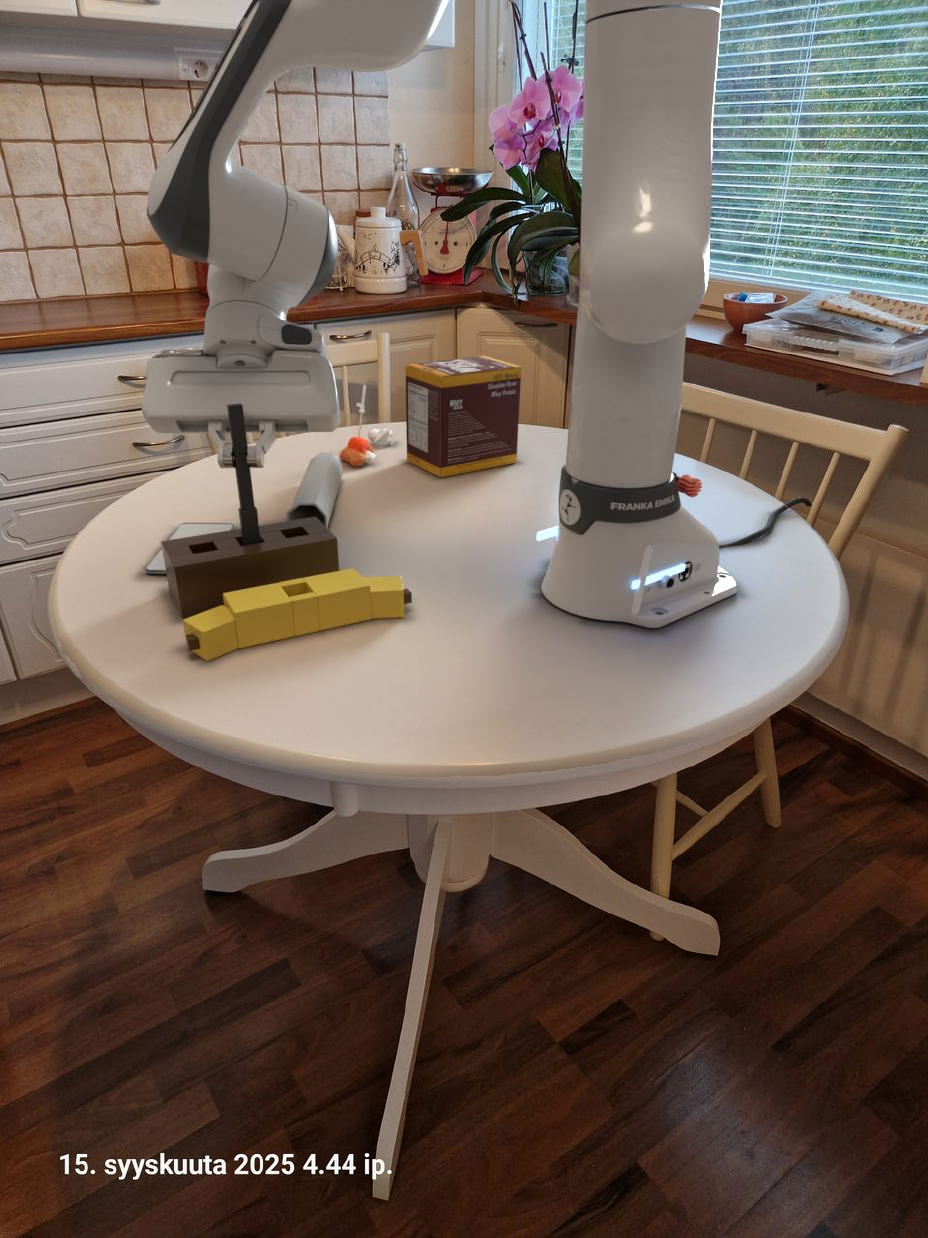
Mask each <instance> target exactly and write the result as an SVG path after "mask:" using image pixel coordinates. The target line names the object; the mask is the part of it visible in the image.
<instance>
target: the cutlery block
mask: <svg viewBox="0 0 928 1238" xmlns="http://www.w3.org/2000/svg"><path fill="white" fill-rule="evenodd" d="M259 531H260V539H261V543H257V544H251V545H245V546H243V542H242V534H241V528H234V529H233V530H229V531H223V532H216V533H210V534H204V535H198V536H191V537H185V538H179V539H173V540H169V539H167V540H162V541H160V544H161V548H162V551H163V556H164V562H165V568H166V574H165V575H166V578H167V579H166V581H167V585H168V589H169V593H170V595H171V597H172V600H173V601H174V603H175V606H176V609H177V610H178V612H179V614H180V617H181V619H182V620H184V619H186V618H189V617H192V616H194V615H197V614H200V613H202V612H205V611H207V610H210V609H213V608H215V607H218V606H221V605H223V606H224V600H223V593H227V592H232V591H237V590H242V589H248V588H253V587H258V586H263V585H268V584H274V583H278V582H283V581H288V580H294V579H299V578H305V577H310V576H315V575H320V574H326V573H331V572H336V571H340V563H339V562H340V561H339V546H338V538H337V537H336V536H335V534H333V533H332V532H331V530H330V529H329V528H328V529H327V528H326V527H325V526H324V525H323V524H322V523H321V522H320V521H319V520H318V519H317V518H316V517H309V518H303V519H297V520H291V521H287V520H286V521H281V522H280V521H279V522H273V523H266V524H259Z"/></svg>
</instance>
